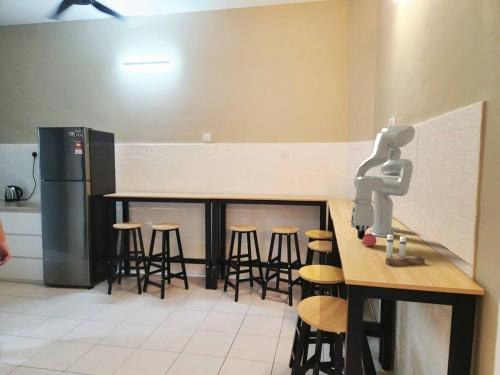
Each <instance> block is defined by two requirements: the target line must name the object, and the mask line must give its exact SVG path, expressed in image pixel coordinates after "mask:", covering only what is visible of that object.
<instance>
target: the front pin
mask: <svg viewBox="0 0 500 375" xmlns="http://www.w3.org/2000/svg"><path fill="white" fill-rule="evenodd" d="M394 236H395V234H394V235H387V237H386V248H385V249H386V250H385V251H386V252H385V256H386V257H387V258H390V257H393V251H394V250H393V248H394V239H395V238H394Z"/></svg>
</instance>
